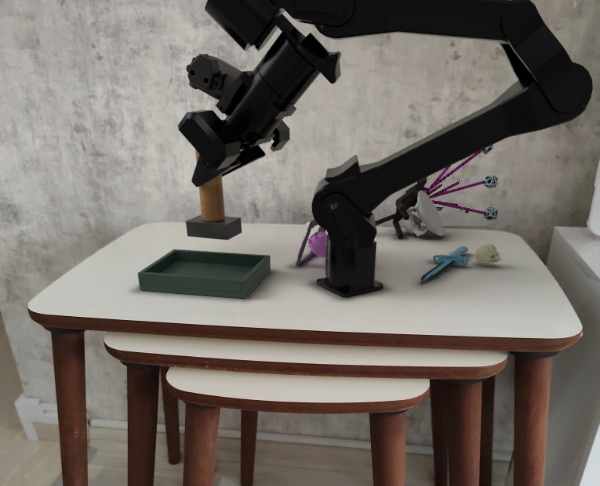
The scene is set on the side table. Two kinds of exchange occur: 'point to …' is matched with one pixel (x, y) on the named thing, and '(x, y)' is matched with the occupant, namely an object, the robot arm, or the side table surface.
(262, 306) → the side table surface
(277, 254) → the side table surface
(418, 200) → the miniature
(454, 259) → the knife
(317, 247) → the purple triangular frame ornament
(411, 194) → the decorative piece
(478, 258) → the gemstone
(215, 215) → the wooden peg on stand
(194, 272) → the tray
